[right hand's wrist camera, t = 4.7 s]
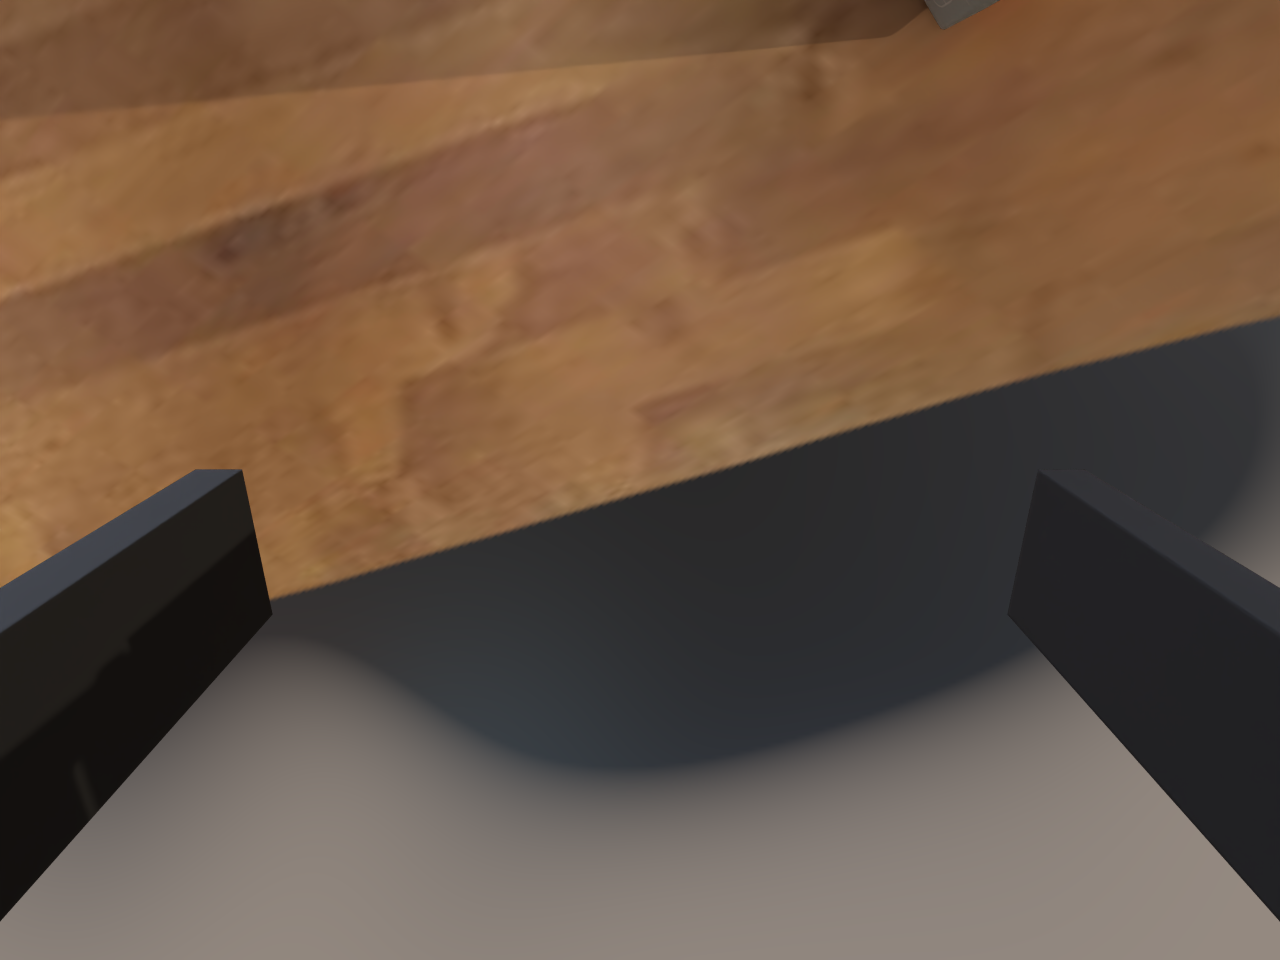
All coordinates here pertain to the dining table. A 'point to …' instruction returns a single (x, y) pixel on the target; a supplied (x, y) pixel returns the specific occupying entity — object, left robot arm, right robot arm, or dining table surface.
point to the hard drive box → (955, 10)
